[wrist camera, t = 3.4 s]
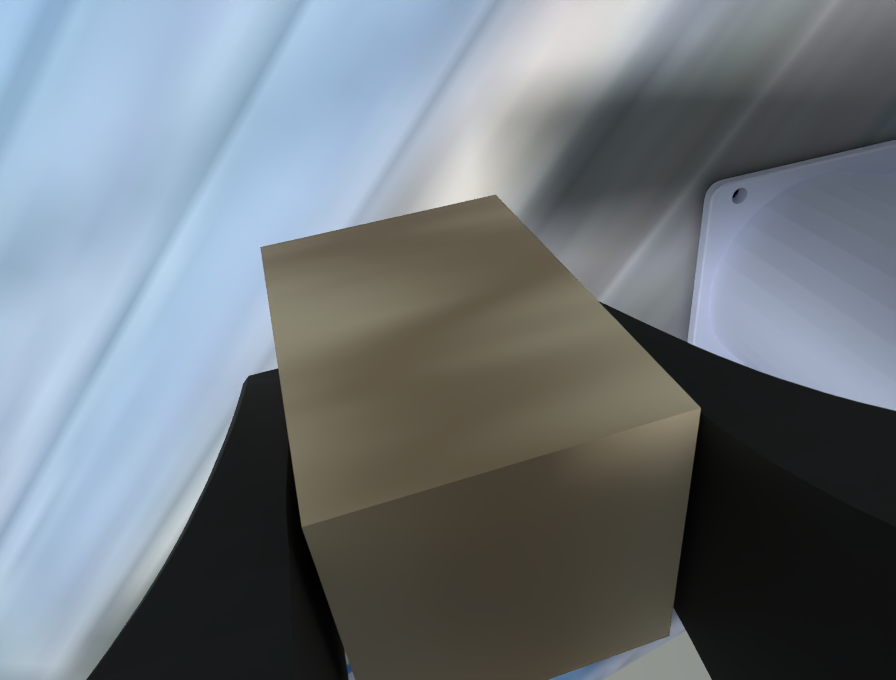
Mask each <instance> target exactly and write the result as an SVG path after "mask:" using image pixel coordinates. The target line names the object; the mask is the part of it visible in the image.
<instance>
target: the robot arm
mask: <svg viewBox="0 0 896 680" xmlns="http://www.w3.org/2000/svg"><path fill="white" fill-rule="evenodd" d="M737 189H739V192H738V194H737V195H736V196H735V197H734V198H732V196H733V194H734V192H735V191H736V190H737ZM598 302H599V301H598ZM599 303H600V304H601V305H602V306H603V307H604V308H605V309H606V310H607V311H608V312H609V313H610V314H611V315H612V316H613V317H614V318H615V319H616V320H617V321H618V322H619V323H620V324H621V325H622V326H623V328H624V329H625V330H626V331H627V332H628V333H629V334H630V335H631V336H632V337H633V338H634V339H635V340H636V341H637V342H638V343H639V344H640V345H641V346H642V347H643V348H644V349H645V350H646V351H647V352H648V353H649V355H650V356H651V357H652V358H653V359H654V360H655V361H656V362H657V363H658V364H659V365H660V366H661V367H662V368H663V369H664V370H665V371H666V372H667V373H668V374H669V375H670V376H671V377H672V378H673V379H674V380H675V382H676V383H677V384H678V385H679V386H680V387H681V388H682V389H683V390H684V391H685V392H686V393H687V394H688V395H689V396H690V397H691V398H692V399H693V400H694V401H695V402H696V403H697V404H698V405H699V406H700V408H701V411H700V419H699V426H698V433H697V440H696V447H695V454H694V462H693V469H692V476H691V483H690V490H689V497H688V505H687V512H686V519H685V526H684V533H683V540H682V547H681V555H680V562H679V569H678V576H677V583H676V590H675V598H674V605H673V607H674V609H675V611H676V613H677V615H678V616H679V618H680V620H681V622H682V624H683V626H684V627H685V629H686V631H687V633H688V635H689V637H690V638H691V640H692V642H693V644H694V646H695V648H696V650H697V652H698V654H699V656H700V658H701V660H702V661H703V663H704V665H705V667H706V669H707V671H708V673H709V675H710V677H711V679H712V680H896V140H892V141H888V142H883V143H879V144H875V145H870V146H866V147H862V148H857V149H853V150H849V151H844V152H840V153H836V154H831V155H827V156H823V157H819V158H814V159H810V160H806V161H801V162H797V163H793V164H788V165H784V166H780V167H775V168H771V169H767V170H762V171H758V172H754V173H749V174H745V175H741V176H736V177H732V178H728V179H723V180H720V181H717V182H715V183H714V184H713V185H712V186H710V188H709V189H708V191H707V192H706V195H705V198H704V207H703V215H702V224H701V232H700V241H699V249H698V258H697V266H696V274H695V283H694V291H693V300H692V308H691V317H690V325H689V334H688V342H685V341H683V340H681V339H678V338H676V337H674V336H672V335H670V334H667V333H665V332H663V331H661V330H659V329H657V328H654V327H652V326H650V325H648V324H646V323H644V322H642V321H639V320H637V319H635V318H633V317H631V316H629V315H627V314H625V313H623V312H620V311H618V310H616V309H614V308H612V307H610V306H608V305H606V304H603V303H601V302H599ZM86 680H349V678H348V671H347V664H346V657H345V649H344V646H343V644H342V641H341V638H340V635H339V632H338V629H337V626H336V624H335V621H334V618H333V615H332V612H331V609H330V606H329V604H328V601H327V598H326V595H325V592H324V589H323V587H322V584H321V581H320V578H319V575H318V572H317V569H316V567H315V564H314V561H313V558H312V555H311V552H310V549H309V547H308V544H307V541H306V538H305V535H304V532H303V529H302V526H301V519H300V512H299V506H298V499H297V492H296V485H295V478H294V472H293V465H292V458H291V451H290V444H289V438H288V431H287V424H286V417H285V410H284V404H283V397H282V390H281V383H280V376H279V370H278V369H274V370H270V371H266V372H262V373H258V374H254V375H250V376H248V378H247V379H246V381H245V382H244V384H243V387H242V390H241V394H240V397H239V401H238V404H237V407H236V410H235V413H234V416H233V419H232V422H231V424H230V427H229V430H228V433H227V435H226V438H225V441H224V443H223V445H222V448H221V450H220V453H219V455H218V457H217V460H216V462H215V465H214V467H213V469H212V472H211V474H210V477H209V479H208V481H207V483H206V485H205V488H204V490H203V492H202V494H201V496H200V498H199V500H198V502H197V504H196V506H195V508H194V510H193V512H192V514H191V516H190V518H189V520H188V522H187V524H186V526H185V528H184V530H183V532H182V534H181V535H180V537H179V539H178V541H177V543H176V544H175V546H174V548H173V550H172V552H171V553H170V555H169V557H168V559H167V560H166V562H165V564H164V566H163V567H162V569H161V571H160V572H159V574H158V575H157V577H156V579H155V580H154V582H153V584H152V585H151V587H150V588H149V590H148V592H147V593H146V595H145V596H144V598H143V600H142V601H141V603H140V604H139V606H138V607H137V609H136V610H135V611H134V613H133V614H132V616H131V617H130V619H129V620H128V622H127V623H126V625H125V626H124V628H123V629H122V631H121V632H120V634H119V635H118V636H117V638H116V639H115V641H114V642H113V644H112V645H111V647H110V648H109V650H108V651H107V652H106V654H105V655H104V656H103V658H102V659H101V661H100V662H99V663H98V665H97V666H96V667H95V669H94V670H93V671H92V673H91V674H90V675H89V677H88V678H87V679H86Z"/></svg>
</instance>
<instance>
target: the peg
mask: <svg viewBox="0 0 896 680" xmlns="http://www.w3.org/2000/svg"><path fill="white" fill-rule="evenodd" d="M261 254H262V261H263V268H264V274H265V281H266V288H267V295H268V302H269V308H270V315H271V322H272V329H273V336H274V342H275V349H276V356H277V363H278V370H279V376H280V383H281V390H282V397H283V404H284V410H285V417H286V424H287V431H288V438H289V444H290V451H291V458H292V465H293V472H294V478H295V485H296V492H297V499H298V506H299V512H300V519H301V526H302V529H303V532H304V535H305V538H306V541H307V544H308V547H309V549H310V552H311V555H312V558H313V561H314V564H315V567H316V569H317V572H318V575H319V578H320V581H321V584H322V587H323V589H324V592H325V595H326V598H327V601H328V604H329V606H330V609H331V612H332V615H333V618H334V621H335V624H336V626H337V629H338V632H339V635H340V638H341V641H342V644H343V646H344V649H345V652H346V655H347V658H348V661H349V664H350V666H351V669H352V672H353V675H354V678H355V680H548V679H551V678H554V677H557V676H559V675H562V674H565V673H568V672H571V671H573V670H576V669H579V668H582V667H584V666H587V665H590V664H593V663H595V662H598V661H601V660H604V659H607V658H609V657H612V656H615V655H618V654H620V653H623V652H626V651H629V650H631V649H634V648H637V647H640V646H643V645H645V644H648V643H651V642H654V641H656V640H659V639H662V638H665V637H667V636H669V633H670V626H671V619H672V612H673V605H674V598H675V590H676V583H677V576H678V569H679V562H680V555H681V547H682V540H683V533H684V526H685V519H686V512H687V505H688V497H689V490H690V483H691V476H692V469H693V462H694V454H695V447H696V440H697V433H698V426H699V419H700V411H701V408H700V406H699V405H698V404H697V403H696V402H695V401H694V400H693V399H692V398H691V397H690V396H689V395H688V394H687V393H686V392H685V391H684V390H683V389H682V388H681V387H680V386H679V385H678V384H677V383H676V382H675V380H674V379H673V378H672V377H671V376H670V375H669V374H668V373H667V372H666V371H665V370H664V369H663V368H662V367H661V366H660V365H659V364H658V363H657V362H656V361H655V360H654V359H653V358H652V357H651V356H650V355H649V353H648V352H647V351H646V350H645V349H644V348H643V347H642V346H641V345H640V344H639V343H638V342H637V341H636V340H635V339H634V338H633V337H632V336H631V335H630V334H629V333H628V332H627V331H626V330H625V329H624V328H623V326H622V325H621V324H620V323H619V322H618V321H617V320H616V319H615V318H614V317H613V316H612V315H611V314H610V313H609V312H608V311H607V310H606V309H605V308H604V307H603V306H602V305H601V304H600V303H599V302H598V301H597V299H596V298H595V297H594V296H593V295H592V294H591V293H590V292H589V291H588V290H587V289H586V288H585V287H584V286H583V285H582V284H581V283H580V282H579V281H578V280H577V279H576V278H575V277H574V276H573V275H572V274H571V272H570V271H569V270H568V269H567V268H566V267H565V266H564V265H563V264H562V263H561V262H560V261H559V260H558V259H557V258H556V257H555V256H554V255H553V254H552V253H551V252H550V251H549V250H548V249H547V248H546V247H545V245H544V244H543V243H542V242H541V241H540V240H539V239H538V238H537V237H536V236H535V235H534V234H533V233H532V232H531V231H530V230H529V229H528V228H527V227H526V226H525V225H524V224H523V223H522V222H521V221H520V220H519V218H518V217H517V216H516V215H515V214H514V213H513V212H512V211H511V210H510V209H509V208H508V207H507V206H506V205H505V204H504V203H503V202H502V201H501V200H500V199H499V198H498V197H497V196H496V195H492V196H488V197H483V198H479V199H474V200H470V201H466V202H461V203H457V204H452V205H448V206H443V207H439V208H434V209H430V210H425V211H421V212H416V213H412V214H407V215H403V216H398V217H394V218H389V219H385V220H380V221H376V222H371V223H367V224H363V225H358V226H354V227H349V228H345V229H340V230H336V231H331V232H327V233H322V234H318V235H313V236H309V237H304V238H300V239H295V240H291V241H286V242H282V243H277V244H273V245H269V246H264V247H261Z"/></svg>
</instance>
